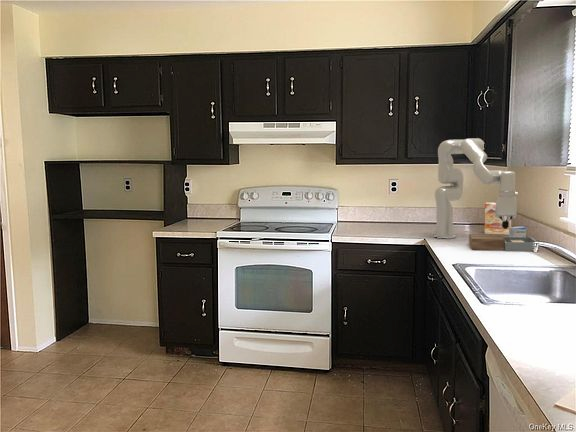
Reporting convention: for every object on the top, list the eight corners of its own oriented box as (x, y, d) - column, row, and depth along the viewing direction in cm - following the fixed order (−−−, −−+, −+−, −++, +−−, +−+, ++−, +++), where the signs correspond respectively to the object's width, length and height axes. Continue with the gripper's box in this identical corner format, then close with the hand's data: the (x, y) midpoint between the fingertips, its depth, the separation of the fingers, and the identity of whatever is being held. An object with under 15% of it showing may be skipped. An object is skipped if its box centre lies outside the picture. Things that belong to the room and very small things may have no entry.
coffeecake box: (484, 233, 313) (484, 203, 311) (485, 232, 319) (486, 202, 317) (510, 234, 306) (510, 203, 304) (511, 233, 312) (511, 202, 310)
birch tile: (521, 240, 265) (521, 245, 266) (509, 239, 267) (509, 245, 267) (524, 242, 259) (524, 247, 260) (511, 241, 261) (511, 247, 261)
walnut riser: (469, 244, 278) (469, 234, 277) (499, 245, 274) (499, 234, 273) (471, 250, 263) (472, 239, 262) (504, 250, 258) (504, 239, 258)
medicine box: (514, 243, 278) (514, 228, 277) (508, 242, 283) (509, 227, 282) (526, 242, 280) (526, 227, 279) (520, 241, 285) (520, 226, 284)
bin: (499, 244, 275) (499, 236, 274) (531, 245, 271) (531, 237, 270) (505, 251, 257) (505, 242, 257) (538, 251, 253) (539, 242, 253)
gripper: (520, 193, 264) (518, 227, 267) (490, 193, 268) (489, 227, 271) (523, 195, 257) (521, 230, 260) (492, 195, 261) (491, 229, 263)
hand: (505, 228), depth 265 cm, fingers closed
